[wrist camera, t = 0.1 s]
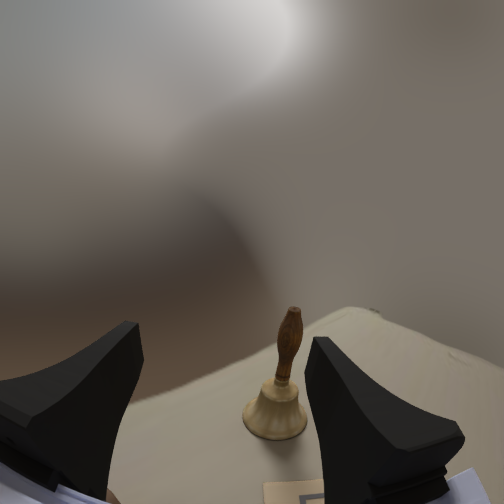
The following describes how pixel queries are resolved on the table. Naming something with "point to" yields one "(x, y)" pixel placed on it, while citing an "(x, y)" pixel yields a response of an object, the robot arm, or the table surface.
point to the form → (294, 492)
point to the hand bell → (280, 389)
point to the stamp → (111, 498)
